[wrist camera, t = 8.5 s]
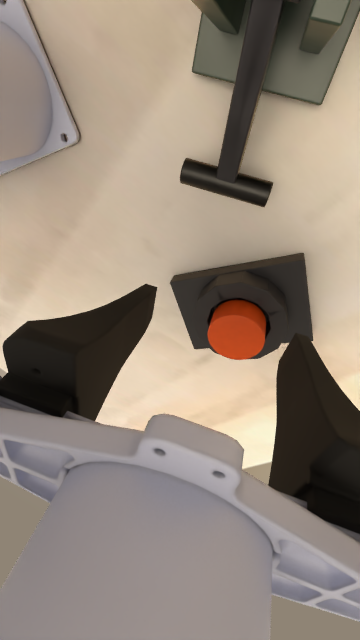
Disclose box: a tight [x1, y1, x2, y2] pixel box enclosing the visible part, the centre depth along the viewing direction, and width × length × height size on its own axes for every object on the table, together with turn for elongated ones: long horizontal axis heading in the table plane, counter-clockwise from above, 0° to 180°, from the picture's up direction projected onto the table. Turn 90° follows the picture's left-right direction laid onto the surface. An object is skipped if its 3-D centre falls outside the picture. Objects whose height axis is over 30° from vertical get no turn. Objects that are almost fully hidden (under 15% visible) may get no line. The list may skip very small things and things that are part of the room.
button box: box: [170, 253, 313, 360], centre depth 23 cm, size 10×7×3 cm
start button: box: [207, 300, 266, 360], centre depth 22 cm, size 4×4×2 cm
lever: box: [180, 0, 301, 207], centre depth 13 cm, size 11×5×2 cm, turn 166°
